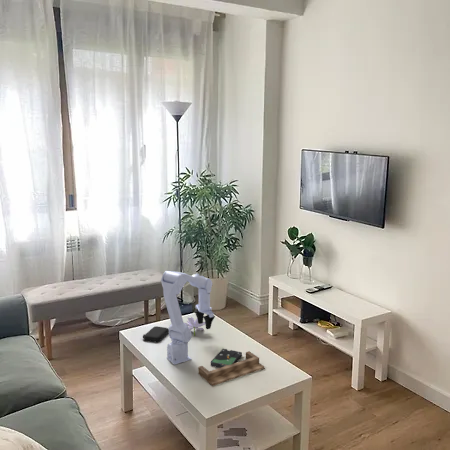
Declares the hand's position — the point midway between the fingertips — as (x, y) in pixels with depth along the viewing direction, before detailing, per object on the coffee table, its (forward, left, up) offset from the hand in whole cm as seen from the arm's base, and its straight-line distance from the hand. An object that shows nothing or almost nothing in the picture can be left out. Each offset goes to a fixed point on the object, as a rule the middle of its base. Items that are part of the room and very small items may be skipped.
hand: (204, 326), depth 237 cm
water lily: (+3, +14, -10) cm, 17 cm away
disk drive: (-1, -22, -10) cm, 24 cm away
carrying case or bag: (-17, +21, -10) cm, 29 cm away
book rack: (-4, -32, -9) cm, 34 cm away
